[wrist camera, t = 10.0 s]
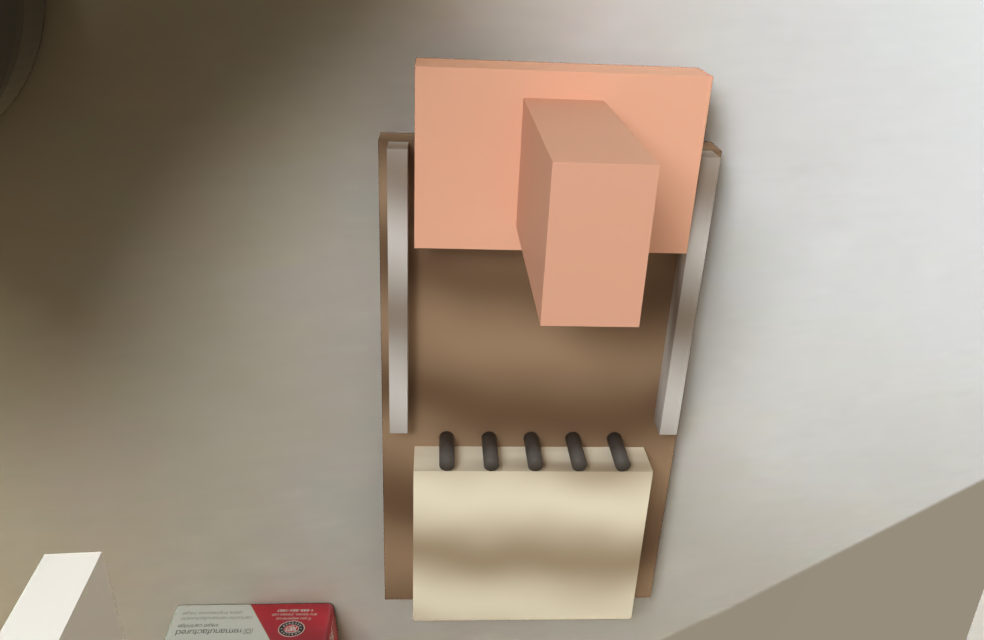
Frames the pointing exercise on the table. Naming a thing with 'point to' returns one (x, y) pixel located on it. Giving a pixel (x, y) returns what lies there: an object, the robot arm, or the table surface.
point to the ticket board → (523, 424)
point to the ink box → (254, 622)
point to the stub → (561, 173)
